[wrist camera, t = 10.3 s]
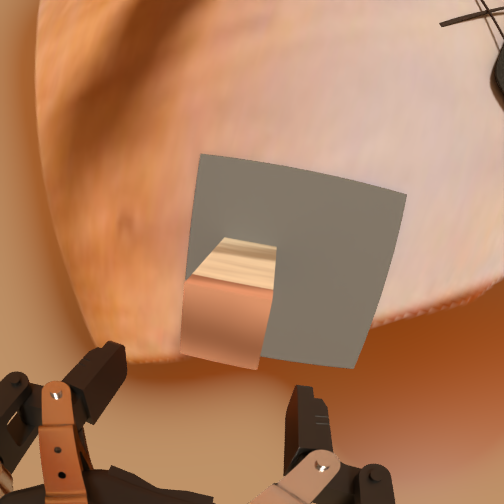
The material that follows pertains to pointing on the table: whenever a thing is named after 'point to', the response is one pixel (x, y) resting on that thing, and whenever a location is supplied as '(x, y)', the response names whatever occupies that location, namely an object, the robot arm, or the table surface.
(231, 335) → the birch block
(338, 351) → the slate mat
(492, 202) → the table surface
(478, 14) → the sushi plate
